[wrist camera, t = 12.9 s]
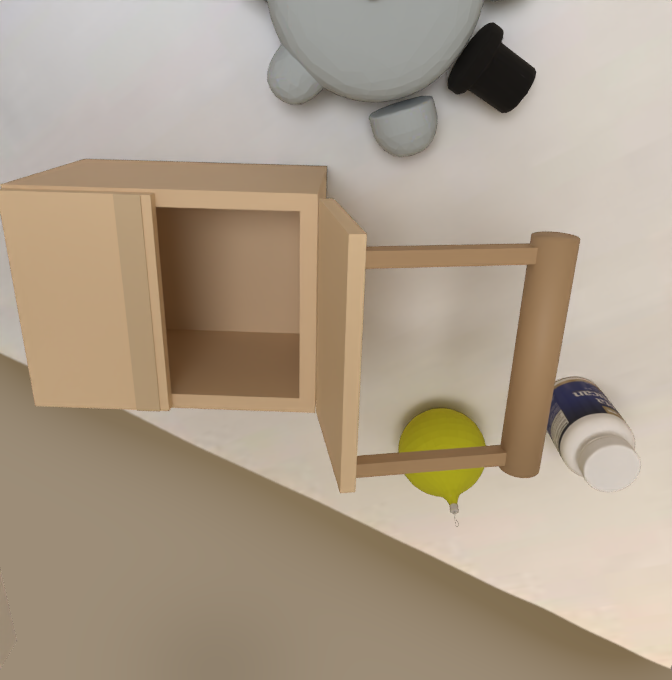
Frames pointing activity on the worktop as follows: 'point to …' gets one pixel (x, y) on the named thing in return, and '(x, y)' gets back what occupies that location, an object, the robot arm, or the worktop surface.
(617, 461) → the pill bottle
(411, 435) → the ornament
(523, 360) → the tan handled panel part
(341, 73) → the figurine
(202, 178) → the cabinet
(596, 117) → the worktop surface
